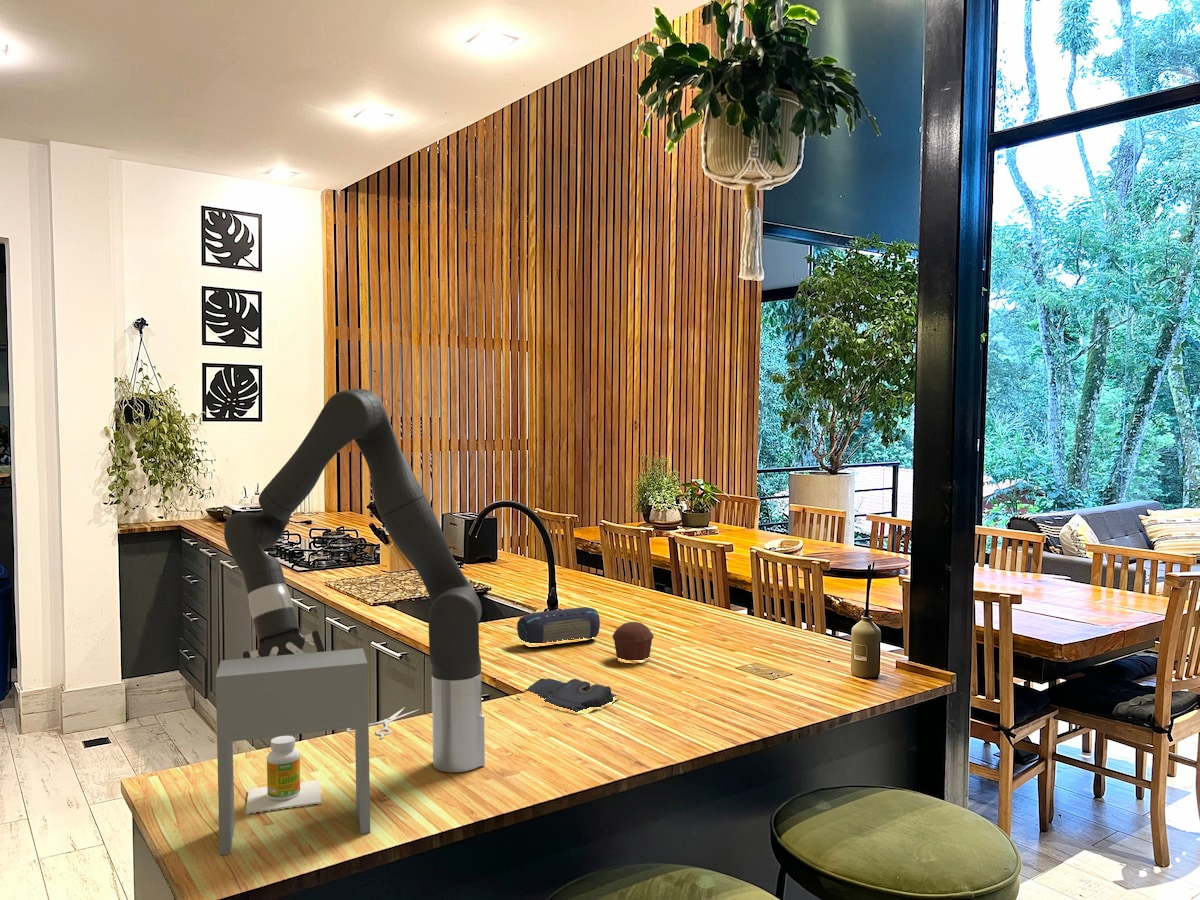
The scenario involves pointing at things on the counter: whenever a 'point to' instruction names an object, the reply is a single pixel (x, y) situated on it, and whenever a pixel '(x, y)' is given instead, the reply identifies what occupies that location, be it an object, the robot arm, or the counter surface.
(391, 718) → the scissors
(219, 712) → the grey rectangular arch
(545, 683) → the crumpled dark grey cloth
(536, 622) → the portable speaker
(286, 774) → the supplement bottle
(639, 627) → the muffin
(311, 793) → the white flat rectangular board
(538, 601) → the counter surface
